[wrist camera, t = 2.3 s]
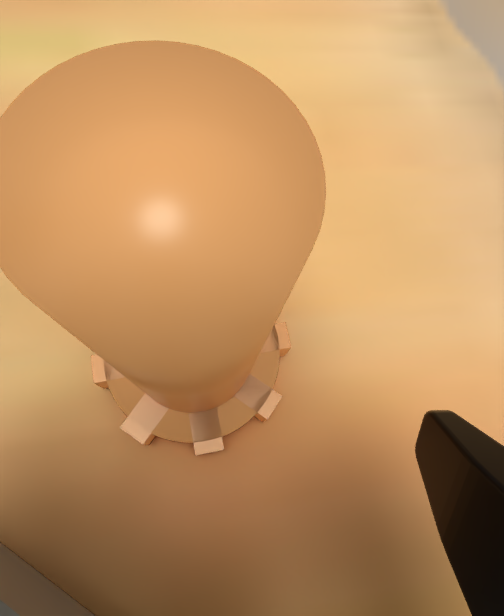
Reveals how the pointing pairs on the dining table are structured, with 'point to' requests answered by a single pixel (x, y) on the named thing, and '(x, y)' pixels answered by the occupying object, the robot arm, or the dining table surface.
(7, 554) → the grey square tray
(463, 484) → the robot arm
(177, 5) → the dining table surface
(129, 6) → the dining table surface
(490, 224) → the dining table surface
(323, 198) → the peach joystick knob
